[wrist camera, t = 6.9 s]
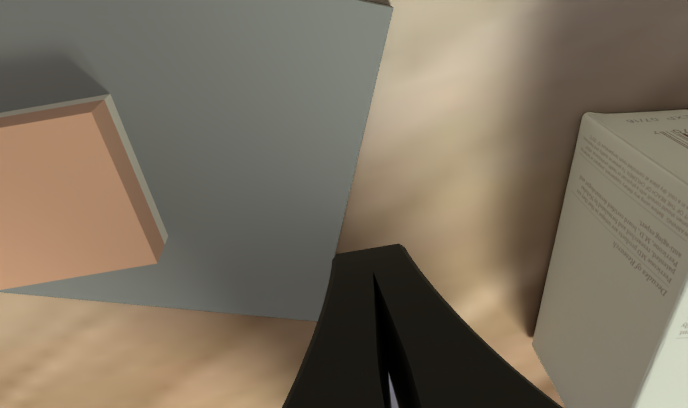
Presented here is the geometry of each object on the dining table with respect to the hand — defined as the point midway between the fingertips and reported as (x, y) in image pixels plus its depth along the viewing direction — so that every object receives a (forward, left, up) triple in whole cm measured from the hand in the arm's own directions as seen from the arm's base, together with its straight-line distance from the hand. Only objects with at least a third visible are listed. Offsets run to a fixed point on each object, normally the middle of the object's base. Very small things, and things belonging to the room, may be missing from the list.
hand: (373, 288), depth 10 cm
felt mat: (-3, +7, -10) cm, 12 cm away
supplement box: (+3, -13, -6) cm, 14 cm away
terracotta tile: (-3, +7, -9) cm, 12 cm away
